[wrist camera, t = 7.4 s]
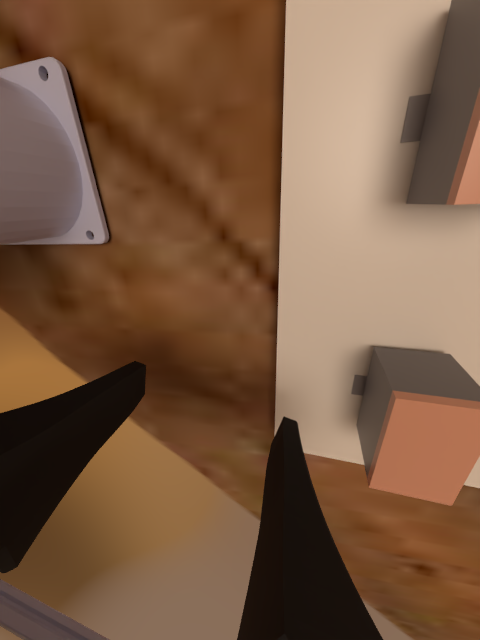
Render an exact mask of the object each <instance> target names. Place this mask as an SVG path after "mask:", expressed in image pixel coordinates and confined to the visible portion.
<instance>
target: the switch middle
mask: <svg viewBox="0 0 480 640" xmlns="http://www.w3.org/2000/svg"><path fill="white" fill-rule="evenodd" d="M406 204H440V205H461V204H480V0H451V5H450V9H449V14H448V18H447V23H446V27H445V32H444V36H443V41H442V45H441V50H440V54H439V58H438V63H437V67H436V72H435V76H434V81H433V85H432V90H431V94H430V99H429V103H428V108H427V112H426V116H425V121H424V125H423V130H422V134H421V139H420V143H419V148H418V152H417V157H416V161H415V166H414V170H413V174H412V179H411V183H410V188H409V192H408V197H407V201H406Z"/></svg>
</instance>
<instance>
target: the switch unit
mask: <svg viewBox="0 0 480 640" xmlns="http://www.w3.org/2000/svg"><path fill="white" fill-rule="evenodd" d="M450 5H451V0H286V26H285V63H284V101H283V139H282V176H281V214H280V251H279V289H278V326H277V364H276V401H275V435H276V432H277V430H278V428H279V426H280V423H281V421H282V419H283V417H287V418H290V419H292V420H295V421H297V423H298V428H299V434H300V439H301V444H302V448H303V452H304V453H308V454H313V455H318V456H323V457H328V458H333V459H338V460H343V461H348V462H352V463H357V464H362V465H364V460H363V455H362V450H361V445H360V440H359V435H358V430H357V425H356V424H357V420H358V415H359V411H360V406H361V402H362V397H363V393H364V389H365V384H366V380H367V375H368V371H369V366H370V362H371V357H372V353H373V348H374V347H380V348H391V349H402V350H413V351H424V352H435V353H446V354H451V355H452V356H453V358H454V359H455V360H456V361H457V362H458V363H459V364H460V365H461V366H462V367H463V369H464V370H465V371H466V372H467V373H468V374H469V375H470V376H471V377H472V378H473V379H474V381H475V382H476V383H477V384H478V385H479V386H480V204H461V205H440V204H406V201H407V197H408V192H409V188H410V183H411V179H412V174H413V170H414V166H415V161H416V157H417V152H418V148H419V143H420V139H421V134H422V130H423V125H424V121H425V116H426V112H427V108H428V103H429V99H430V94H431V90H432V85H433V81H434V76H435V72H436V67H437V63H438V58H439V54H440V50H441V45H442V41H443V36H444V32H445V27H446V23H447V18H448V14H449V9H450ZM464 485H467V486H472V487H476V488H480V456H479V458H478V460H477V462H476V463H475V465H474V467H473V469H472V470H471V472H470V474H469V476H468V478H467V479H466V481H465V483H464Z"/></svg>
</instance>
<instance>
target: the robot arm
mask: <svg viewBox="0 0 480 640" xmlns="http://www.w3.org/2000/svg"><path fill="white" fill-rule="evenodd" d="M47 72H48V79H47ZM91 232H92V233H93V234H94V237H93V236H92V233H91ZM108 240H109V233H108V229H107V225H106V221H105V217H104V214H103V210H102V206H101V202H100V198H99V194H98V190H97V186H96V182H95V179H94V175H93V171H92V167H91V163H90V159H89V155H88V151H87V147H86V144H85V140H84V136H83V132H82V128H81V124H80V120H79V116H78V112H77V109H76V105H75V101H74V97H73V93H72V89H71V85H70V81H69V77H68V74H67V71H66V68H65V67H64V65H63V64H62V63H61V62H60V61H58V60H56V59H55V58H53V57H46V58H42V59H38V60H34V61H31V62H27V63H23V64H19V65H15V66H11V67H7V68H3V69H0V245H17V244H103V243H107V242H108ZM145 374H146V365H144V364H142V363H139V362H136V361H134V362H132V363H130V364H128V365H126V366H124V367H122V368H119V369H117V370H115V371H113V372H111V373H109V374H107V375H105V376H103V377H100V378H98V379H96V380H94V381H92V382H89V383H87V384H85V385H82V386H80V387H77V388H75V389H73V390H70V391H68V392H65V393H63V394H60V395H57V396H55V397H52V398H49V399H46V400H43V401H40V402H37V403H34V404H31V405H27V406H24V407H21V408H17V409H14V410H10V411H7V412H4V413H0V572H1V573H6V572H8V571H10V570H13V569H14V568H16V567H18V565H19V563H20V562H21V560H22V559H23V557H24V555H25V554H26V552H27V551H28V549H29V547H30V546H31V544H32V543H33V541H34V540H35V538H36V537H37V535H38V534H39V532H40V531H41V529H42V527H43V526H44V524H45V523H46V522H47V520H48V519H49V517H50V516H51V514H52V513H53V511H54V510H55V508H56V507H57V505H58V504H59V502H60V501H61V500H62V498H63V497H64V495H65V494H66V493H67V491H68V490H69V488H70V487H71V486H72V484H73V483H74V481H75V480H76V479H77V477H78V476H79V474H80V473H81V472H82V471H83V469H84V468H85V467H86V465H87V464H88V462H89V461H90V460H91V459H92V457H93V456H94V455H95V454H96V453H97V451H98V450H99V449H100V448H101V447H102V446H103V445H104V443H105V442H106V441H107V440H108V439H109V438H110V437H111V436H112V434H113V433H114V432H115V431H116V430H117V429H118V428H119V427H120V425H121V424H122V423H123V422H124V421H125V420H126V419H127V417H128V416H129V415H130V414H131V413H132V412H133V410H134V409H135V408H136V406H137V405H138V403H139V402H140V400H141V399H142V397H143V396H144V394H145ZM0 626H1V627H3V628H5V629H6V630H8V631H10V632H12V633H13V634H15V635H16V636H18V637H20V638H21V639H24V640H109V639H107V638H106V637H104V636H102V635H100V634H98V633H96V632H95V631H93V630H91V629H89V628H88V627H86V626H84V625H82V624H80V623H78V622H77V621H75V620H73V619H71V618H69V617H68V616H66V615H64V614H62V613H60V612H58V611H57V610H55V609H53V608H51V607H50V606H47V605H46V604H44V603H42V602H41V601H39V600H37V599H35V598H33V597H32V596H30V595H28V594H26V593H24V592H22V591H21V590H19V589H17V588H15V587H14V586H12V585H10V584H8V583H6V582H5V581H3V580H1V579H0ZM237 640H383V639H382V637H381V635H380V633H379V631H378V630H377V628H376V626H375V624H374V622H373V620H372V618H371V617H370V615H369V613H368V611H367V609H366V607H365V605H364V603H363V601H362V599H361V597H360V595H359V593H358V591H357V589H356V588H355V586H354V584H353V582H352V579H351V577H350V575H349V573H348V571H347V569H346V567H345V564H344V562H343V560H342V558H341V556H340V554H339V552H338V549H337V547H336V545H335V543H334V540H333V538H332V536H331V533H330V531H329V529H328V526H327V524H326V521H325V518H324V516H323V513H322V511H321V508H320V505H319V502H318V500H317V497H316V494H315V491H314V488H313V484H312V481H311V478H310V475H309V471H308V467H307V464H306V460H305V456H304V452H303V448H302V444H301V439H300V434H299V428H298V423H297V421H295V420H292V419H290V418H287V417H283V419H282V421H281V423H280V426H279V428H278V430H277V432H276V435H275V437H274V439H273V442H272V444H271V449H270V453H269V458H268V463H267V469H266V477H265V486H264V495H263V504H262V513H261V522H260V529H259V535H258V540H257V545H256V551H255V556H254V561H253V566H252V571H251V576H250V581H249V586H248V591H247V596H246V600H245V605H244V610H243V615H242V619H241V624H240V629H239V633H238V638H237Z"/></svg>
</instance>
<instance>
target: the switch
mask: <svg viewBox="0 0 480 640" xmlns="http://www.w3.org/2000/svg"><path fill="white" fill-rule="evenodd" d="M356 425H357V430H358V435H359V440H360V445H361V450H362V455H363V460H364V465H365V470H366V475H367V480H368V485H369V488H373V489H378V490H383V491H387V492H392V493H396V494H401V495H405V496H410V497H414V498H419V499H423V500H428V501H432V502H437V503H441V504H446V505H450V506H452V504H453V502H454V501H455V499H456V497H457V495H458V493H459V492H460V490H461V488H462V486H463V485H464V483H465V481H466V479H467V478H468V476H469V474H470V472H471V470H472V469H473V467H474V465H475V463H476V462H477V460H478V458H479V456H480V386H479V385H478V384H477V383H476V382H475V381H474V379H473V378H472V377H471V376H470V375H469V374H468V373H467V372H466V371H465V370H464V369H463V367H462V366H461V365H460V364H459V363H458V362H457V361H456V360H455V359H454V358H453V356H452V355H451V354H446V353H435V352H424V351H413V350H402V349H391V348H380V347H374V348H373V353H372V357H371V362H370V366H369V371H368V375H367V380H366V384H365V389H364V393H363V397H362V402H361V406H360V411H359V415H358V420H357V424H356Z"/></svg>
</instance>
